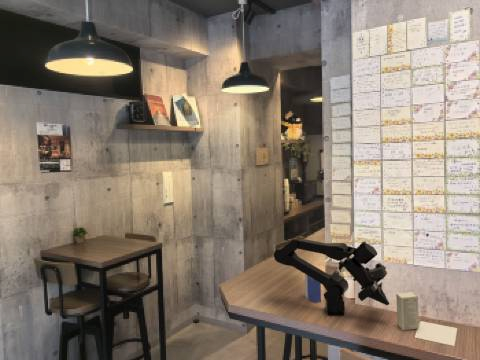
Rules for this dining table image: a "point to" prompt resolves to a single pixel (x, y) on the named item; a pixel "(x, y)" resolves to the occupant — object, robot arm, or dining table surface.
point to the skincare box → (407, 310)
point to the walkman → (312, 289)
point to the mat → (436, 333)
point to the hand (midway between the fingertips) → (388, 304)
